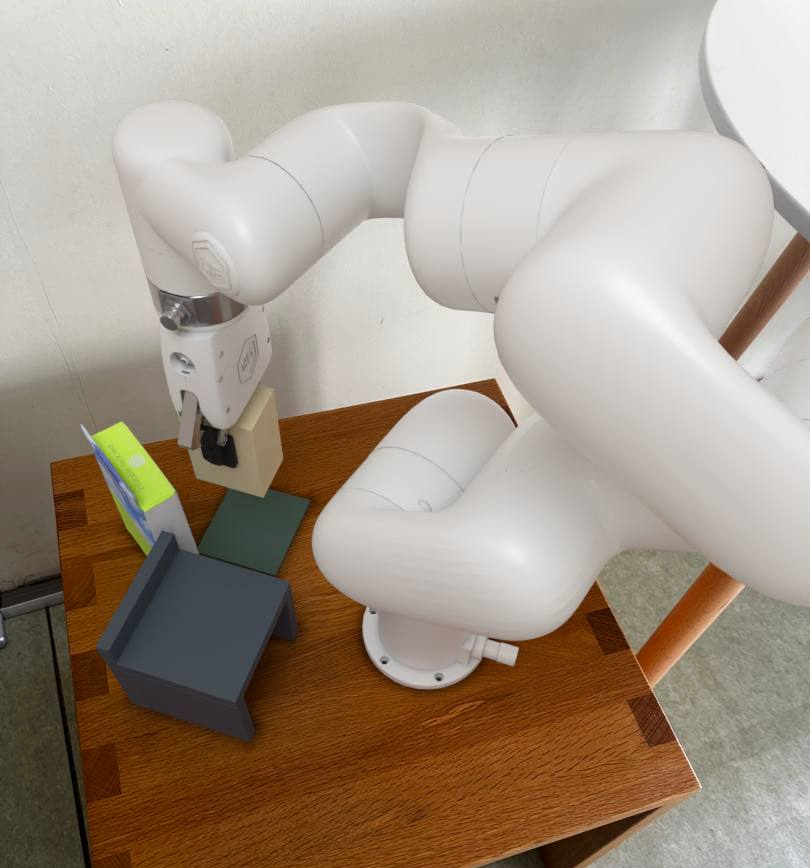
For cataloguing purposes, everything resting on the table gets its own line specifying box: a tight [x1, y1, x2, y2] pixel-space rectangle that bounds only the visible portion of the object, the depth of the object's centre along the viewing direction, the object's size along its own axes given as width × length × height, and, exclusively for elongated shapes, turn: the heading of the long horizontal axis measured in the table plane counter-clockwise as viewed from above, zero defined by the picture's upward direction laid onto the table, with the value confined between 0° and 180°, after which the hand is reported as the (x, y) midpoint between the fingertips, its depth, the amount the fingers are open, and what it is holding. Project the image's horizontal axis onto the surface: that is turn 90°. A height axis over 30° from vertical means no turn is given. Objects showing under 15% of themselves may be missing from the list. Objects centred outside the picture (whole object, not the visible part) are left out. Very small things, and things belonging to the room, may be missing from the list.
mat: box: [197, 488, 311, 578], centre depth 89 cm, size 9×10×1 cm
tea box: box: [176, 384, 284, 498], centre depth 77 cm, size 5×7×10 cm
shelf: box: [95, 530, 299, 743], centre depth 75 cm, size 12×12×12 cm
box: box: [79, 420, 200, 557], centre depth 80 cm, size 10×4×17 cm, turn 39°
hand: (234, 437), depth 77 cm, fingers closed on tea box, 5 cm apart
